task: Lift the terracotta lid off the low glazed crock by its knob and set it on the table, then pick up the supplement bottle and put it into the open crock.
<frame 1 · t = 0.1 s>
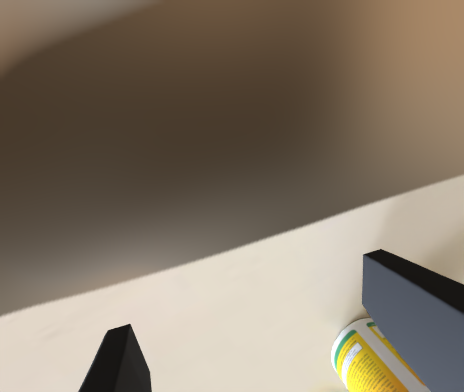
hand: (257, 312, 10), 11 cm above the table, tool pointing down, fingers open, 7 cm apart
supplement bottle: (359, 344, 25), on the table
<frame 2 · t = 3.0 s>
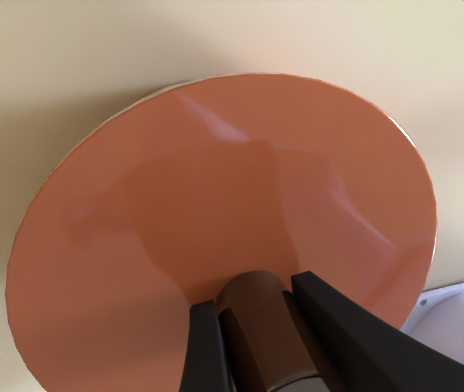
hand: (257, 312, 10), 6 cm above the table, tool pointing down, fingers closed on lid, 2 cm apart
lid: (247, 290, 11), point 5 cm above the table, touching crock, gripper
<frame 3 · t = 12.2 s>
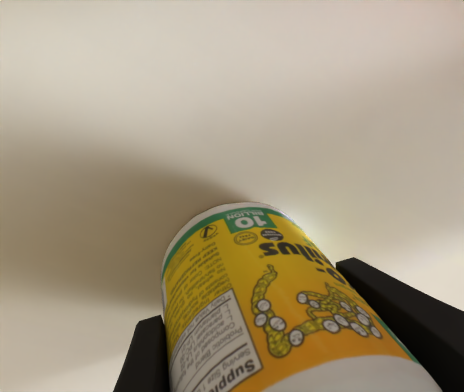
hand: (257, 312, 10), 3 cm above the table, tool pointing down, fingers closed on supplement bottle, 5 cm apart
supplement bottle: (233, 259, 12), on the table, touching gripper
when the fingers open (3 cm above the table, at t = 17.3 s): supplement bottle stays where it is, resting on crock.
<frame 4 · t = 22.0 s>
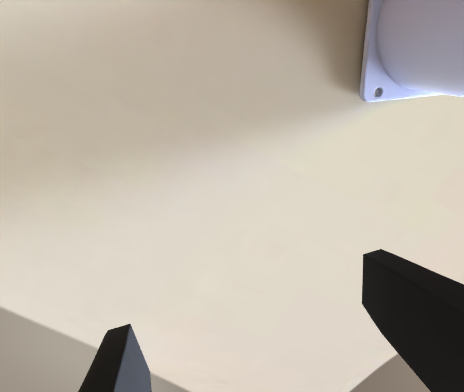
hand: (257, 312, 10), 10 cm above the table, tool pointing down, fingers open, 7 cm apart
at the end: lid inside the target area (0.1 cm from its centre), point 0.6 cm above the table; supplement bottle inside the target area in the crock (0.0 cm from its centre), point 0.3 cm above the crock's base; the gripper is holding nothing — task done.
